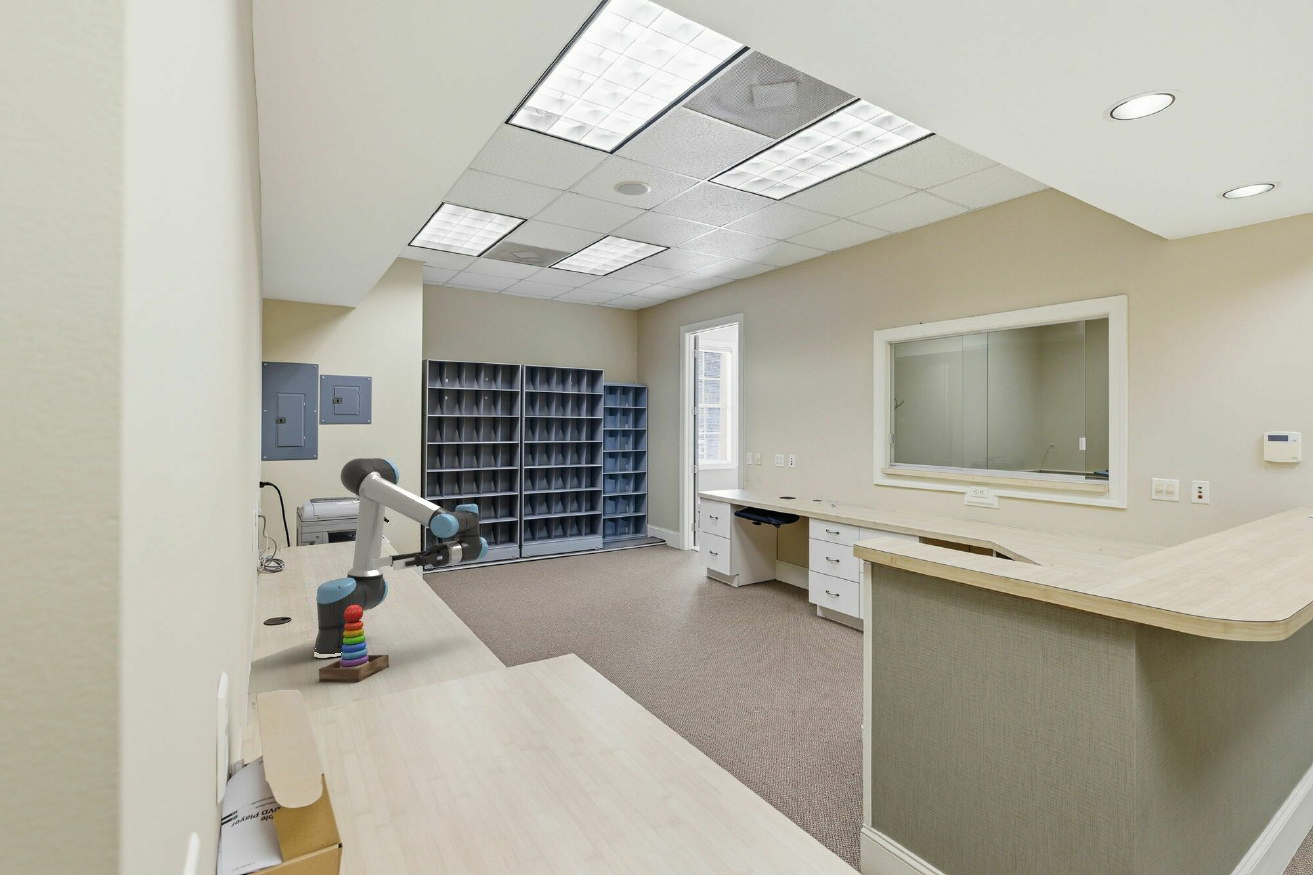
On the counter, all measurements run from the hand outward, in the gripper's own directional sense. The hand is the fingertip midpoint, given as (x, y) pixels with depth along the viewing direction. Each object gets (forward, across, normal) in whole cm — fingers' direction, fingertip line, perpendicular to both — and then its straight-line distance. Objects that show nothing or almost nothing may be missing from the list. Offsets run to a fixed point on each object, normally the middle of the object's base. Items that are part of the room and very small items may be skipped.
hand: (382, 564), depth 190 cm
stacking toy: (+10, 0, -29) cm, 31 cm away
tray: (+10, 0, -30) cm, 32 cm away
